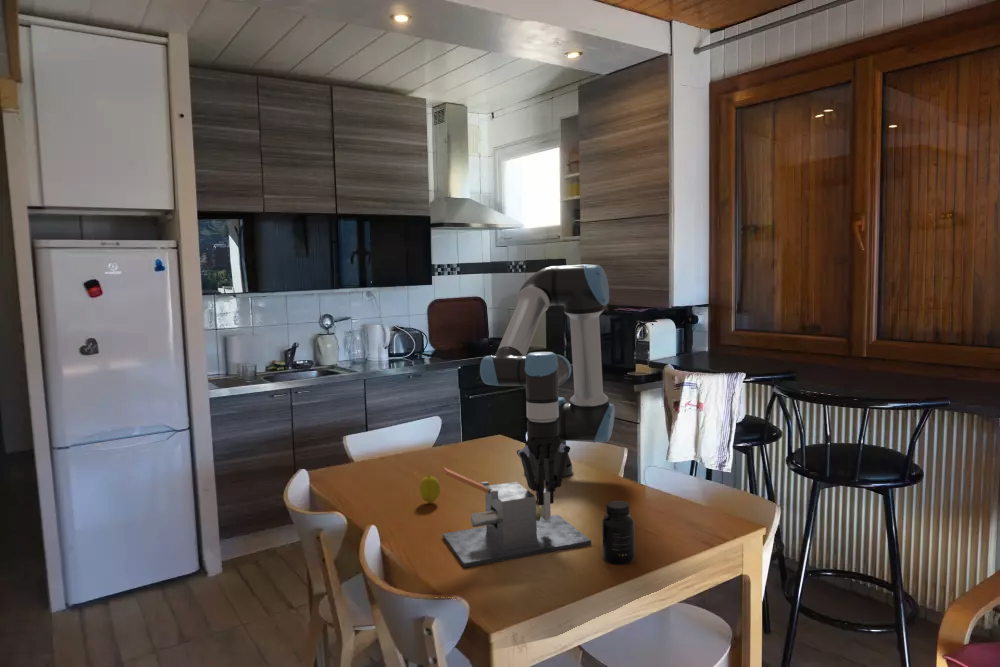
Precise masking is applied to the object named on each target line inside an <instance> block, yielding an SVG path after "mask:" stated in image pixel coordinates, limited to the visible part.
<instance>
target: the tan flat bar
mask: <svg viewBox="0 0 1000 667" xmlns="http://www.w3.org/2000/svg"><path fill="white" fill-rule="evenodd" d="M440 470H441V472H443V474H444V475H445V476H448V477H450V478H453V479H454V480H457V481H458V482H459V481H460V482H462V483H463V484H466V485H468V486H470V487H472V488H475V489H477V490H479V491H482V492H484V493H485V492H486V493H488V494H490V491H491V490H492V489H491V488H490V487H489V486H490V485H489V486H487V485H486V486H484V485H483V484H481V482H478V481H476V480H473V479H471V478H469V477H468V476H464V475H462V474H459V473H458V472H456V471H453V470H451V469H449V468H446V467H444V466H442V468H441V469H440Z"/></svg>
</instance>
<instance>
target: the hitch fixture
mask: <svg viewBox="0 0 1000 667" xmlns="http://www.w3.org/2000/svg"><path fill="white" fill-rule="evenodd" d="M480 484H483V485H484V486H486V485H487V486H489V487H490V488H491V489H492V490H491V491H490V494H488V493H486V492H484V495H485V497H484V498H485V500H484V501H485V512H486V511H492V510H497V524H491V525H485V526H479V527H473V528H470V529H462V530H457V531H450V532H445V533H444V532H443V533H442V538H443V540H444V541H445V543H446V544H447V545H448V547H449V548H450V550H451V552H452V553H453V554H454V556H455V557H456V558H457V560H458V561H459V563H460V564H461V565H462V566H463V568H464V569H466V568H470V567H476V566H481V565H488V564H493V563H499V562H503V561H504V562H505V561H510V560H515V559H521V558H525V557H531V556H536V555H538V556H539V555H541V554H547V553H553V552H559V551H565V550H569V549H570V550H571V549H576V548H580V547H581V548H582V547H585V546H591V545H592V540H591V539H590V538H589V537H588V536H586V535H584V534H583V533H582V532H581V531H580V530H578V529H577V528H576V527H574V526H573V525H572V524H570V523H569V522H568V521H567V520H565V519H564V518H563V517H561V516H560V515H559V514H556V515H555V514H554V515H551V519H548V520H544V519H543V518H542V517H540V520H539V521H537V522H536V500H537V499H536V495H534V493H531V492H530V491H529V490H528V489H527V488H526V487H524V485H521V484H520V483H519V482H517V481H511V482H505V483H497V484H491V485H489V482H488V481H481V482H480Z"/></svg>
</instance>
